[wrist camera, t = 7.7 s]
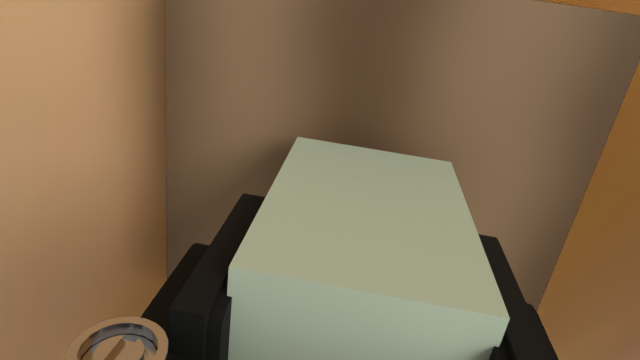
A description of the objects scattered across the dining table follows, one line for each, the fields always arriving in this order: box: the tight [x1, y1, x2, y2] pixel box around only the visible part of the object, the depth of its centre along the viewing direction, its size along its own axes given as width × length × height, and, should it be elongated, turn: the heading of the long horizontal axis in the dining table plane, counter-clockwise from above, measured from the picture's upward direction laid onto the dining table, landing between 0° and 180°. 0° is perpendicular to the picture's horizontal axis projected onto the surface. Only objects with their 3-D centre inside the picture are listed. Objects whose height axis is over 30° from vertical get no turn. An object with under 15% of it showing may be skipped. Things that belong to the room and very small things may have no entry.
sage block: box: [227, 137, 510, 360], centre depth 10 cm, size 4×4×6 cm
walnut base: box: [165, 0, 640, 311], centre depth 15 cm, size 12×12×3 cm
